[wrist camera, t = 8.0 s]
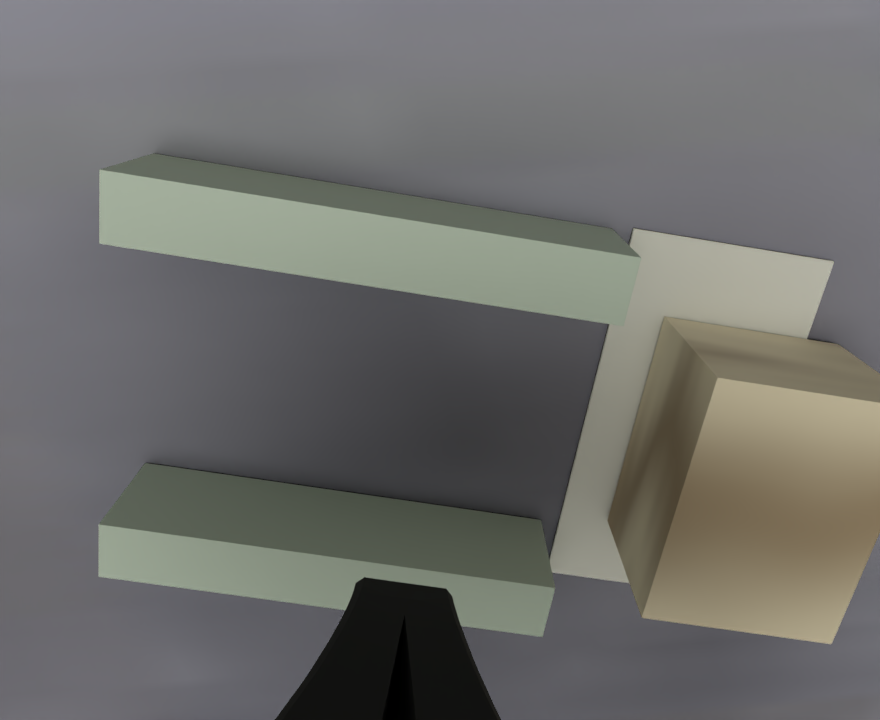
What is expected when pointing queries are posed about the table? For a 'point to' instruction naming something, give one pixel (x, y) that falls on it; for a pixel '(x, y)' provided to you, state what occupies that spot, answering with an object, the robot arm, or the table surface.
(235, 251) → the rails
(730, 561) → the birch block
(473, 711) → the robot arm
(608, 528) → the mat
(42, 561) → the table surface
